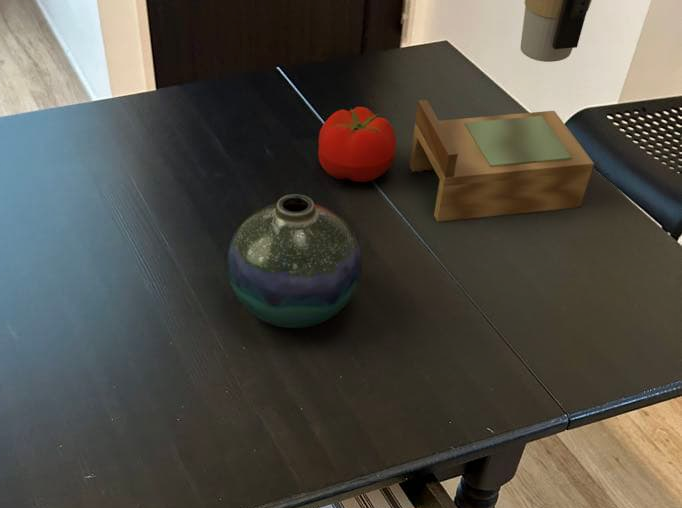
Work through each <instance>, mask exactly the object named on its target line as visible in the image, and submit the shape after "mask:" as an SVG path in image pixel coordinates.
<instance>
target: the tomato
mask: <svg viewBox="0 0 682 508" xmlns="http://www.w3.org/2000/svg"><path fill="white" fill-rule="evenodd" d="M379 115H380V113H378V114H375V113H373V112H372V111H371V110H370V109H369V108H367V107H364V106H356V107H354V108H353V109H352V108H351V107H350V108H349V110H347V109H339V110H337V111H335V112H333V113H332V114H331V115H330V116H329V117H328V118H327V119H326V120H325V122H324V123H323V125H322V126H321V128H320V130H319V135H318V161H319V163H320V166H321V168H323V169H324V171H325V172H326V174H328V175H329V176H331V177H333V178H335V179H336V180H347V179H348V180H350V181H352V182H355V183H356V182H357V183H367V182H370V181H373V180H375V179H376V178H379V177H380V176H382V175H384V174H385V173H386V172H387V171H388V170H389V169H390V168H391V166H392V165H393V163H394V159H395V155H396V154H395V153H396V150H397V137H396V134H395V131H394V128H393V127H392V125H391V124H390V122H389V121H388V120H387V119H386V118H384V117H381V116H379ZM378 116H379V117H378Z"/></svg>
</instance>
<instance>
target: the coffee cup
mask: <svg viewBox="0 0 682 508" xmlns="http://www.w3.org/2000/svg"><path fill="white" fill-rule="evenodd" d="M563 1H564V0H524V5H525V6H524V7H525V8H524V13H523V14H524V17H523V24H522V31H521V38H520V39H521V40H520V51H521V52H522V54H523V55H525V56H526V57H527V58H529V59H532V60H534V61H537V62H544V63H546V62H547V63H553V62H559V61H563V60H565V59H567V58H569V57H570V55H571V54H572V51H573V49H574V48H565V49H554V48H553V47H552V45H553V41H554V37H555V33H556V29H557V25H558V21H559V17H560V13H561V9H562V5H563ZM592 1H593V0H590V2H589V6H588V9H587V12H588V11H589V10H590V7H591V3H592Z"/></svg>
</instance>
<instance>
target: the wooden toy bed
mask: <svg viewBox="0 0 682 508" xmlns="http://www.w3.org/2000/svg"><path fill="white" fill-rule="evenodd" d="M412 136H413V137H412V142H411V143H412V145H411V152H410V158H409V165H408V167H409V168H410V170H411V172H412V173H415V171H417V172H425V171H424V170H428V171H432V170H431V169H434V170H433V171H435V173H436V175H437V178H438V179H439V182H438V188H437V195H436V201H435V206H434V212H433V216H434V218H435V220H436V222H437V223H439V222H440V223H441V222H450V221H457V220H458V221H459V220H468V219H478V218H479V219H480V218H489V217H498V216H508V215H517V214H527V213H529V214H530V213H537V212H547V211H557V210H567V209H577V208H581V205H582V202H583V199H584V196H585V193H586V190H587V186H588V183H589V180H590V177H591V175H592V171H593V168H594V165H595V163H594V161H593V160H592V159H591V158H590V156H589V155H588V153H587V152H586V151H585V150H584V148H583V147H582V146H581V144H580V142H578V140H577V139H576V137H575V136H574V135H573V133H572V132H571V131H570V129H569V128H568V127H567V126H566V124H565V122H563V120H562V119H561V117H560V116H559V115H558V113H557V112H556V111H555V110H546V111H533V112H523V113H511V114H510V113H509V114H501V115H489V116H477V117H476V116H475V117H467V118H455V119H443V120H439V119H438V117H437V115H436V113H435V112H434V110H433V107H431V105H430V103H429V101H428V100H427V99H419V100H418V101H417V107H416V113H415V122H414V129H413V135H412ZM422 170H423V171H422Z"/></svg>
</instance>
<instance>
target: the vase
mask: <svg viewBox="0 0 682 508" xmlns="http://www.w3.org/2000/svg"><path fill="white" fill-rule="evenodd" d="M360 245H361V244H360V243H359V239H358V237H357V235H356V233H355V231H354V229H353V228H352V227H351V226H350V225H349V224H348V222H347V221H346V220H345V219H344V218H342V217H341V216H340V215H339V214H337V213H336V212H334V211H332V210H331V209H329V208H326V207H325V206H323V205H319V204H317V203H315V202H314V201H313V200H312V198H310V197H309V196H306V195H304V194H299V193H292V194H286V195H284V196H281V197H280V199H278V201H277V202H275V203H271V204H269V205H267V206H264V207H262V208H260V209H258V210H255V212H253V213H251V214H250V215H249V216H248V217H246V218H245V219H244V220H243V221H242V222H241V223H240V224H239V225H238V227H237V228H236V230H235V231H234V233H233V234H232V236H231V239H230V242H229V245H228V248H227V254H226V255H227V256H226V269H227V276H228V280H229V283H230V285H231V289H232V290H233V294H234V295H235V296H236V297H237V299H238V301H239V303H240V304H241V305H242V306H243V307H244V308H245V310H247V311H248V312H249V314H251V315H252V316H254V317H255V318H256V319H258V320H260V321H262V322H263V323H266V324H268V325H271V326H274V327H275V326H276V327H279V328H286V329H301V328H302V329H303V328H309V327H313V326H318V325H320V324H322V323H324V322H326V321H328V320H331V318H333V317H335V316H337V314H339V313H340V312H341V310H343V309H344V308H345V307H346V305H347V304H348V303H349V301H350V300H351V299H352V298H353V296H354V293H355V292H356V289H357V287H358V285H359V282H360V278H361V272H362V266H363V259H362V258H363V255H362V249H361V246H360Z"/></svg>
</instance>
